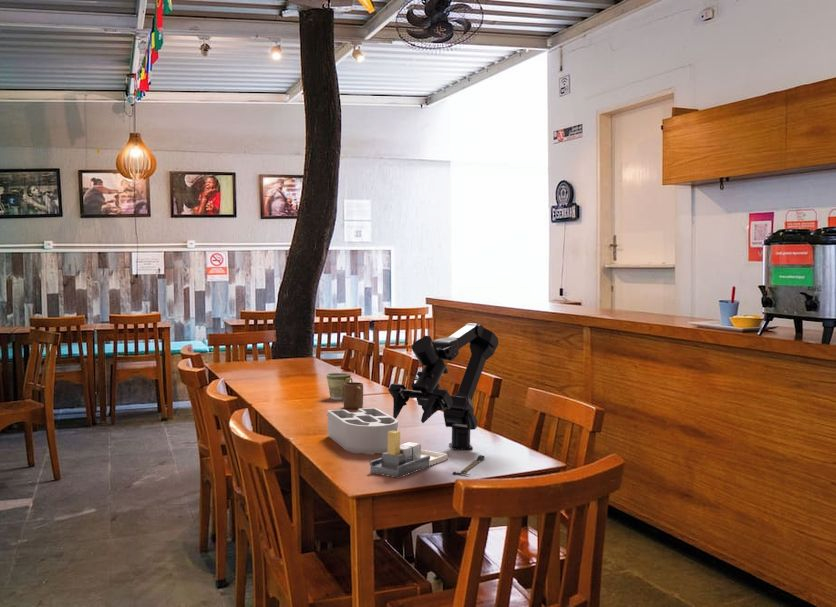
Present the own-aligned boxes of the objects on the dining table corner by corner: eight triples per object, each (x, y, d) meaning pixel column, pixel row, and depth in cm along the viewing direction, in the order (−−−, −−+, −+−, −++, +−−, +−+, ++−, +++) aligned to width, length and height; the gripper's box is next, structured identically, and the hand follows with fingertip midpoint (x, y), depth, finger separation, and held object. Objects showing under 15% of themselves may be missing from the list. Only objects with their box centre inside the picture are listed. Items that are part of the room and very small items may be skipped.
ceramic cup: (321, 398, 326) (321, 374, 325) (338, 395, 333) (339, 372, 333) (343, 402, 317) (343, 377, 317) (360, 399, 325) (360, 375, 324)
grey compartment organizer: (375, 433, 261) (375, 407, 260) (405, 453, 235) (405, 424, 234) (326, 437, 255) (326, 410, 254) (351, 457, 229) (352, 427, 228)
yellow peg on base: (388, 462, 215) (388, 429, 214) (405, 465, 212) (405, 432, 211) (381, 464, 212) (382, 431, 212) (398, 467, 209) (399, 434, 209)
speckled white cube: (408, 456, 222) (409, 442, 221) (420, 458, 219) (421, 444, 219) (400, 459, 218) (401, 444, 218) (412, 461, 216) (413, 446, 216)
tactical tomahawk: (474, 481, 208) (475, 477, 208) (451, 476, 211) (452, 472, 210) (499, 462, 227) (500, 458, 227) (478, 457, 230) (478, 454, 230)
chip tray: (421, 454, 232) (421, 449, 232) (447, 459, 227) (447, 454, 227) (402, 461, 224) (402, 456, 223) (429, 466, 219) (429, 461, 219)
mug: (369, 410, 300) (369, 386, 299) (350, 411, 297) (350, 387, 296) (359, 405, 311) (359, 381, 310) (340, 406, 308) (341, 382, 308)
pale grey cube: (399, 459, 218) (400, 445, 218) (411, 461, 216) (412, 447, 216) (391, 462, 215) (391, 447, 214) (403, 464, 212) (403, 449, 212)
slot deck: (401, 461, 224) (401, 450, 223) (429, 466, 218) (430, 455, 218) (369, 472, 211) (369, 461, 211) (399, 478, 206) (399, 467, 206)
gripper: (468, 396, 225) (447, 441, 217) (413, 390, 236) (391, 432, 227) (454, 372, 218) (432, 417, 210) (399, 366, 229) (376, 409, 220)
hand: (408, 420), depth 217 cm, fingers open, 9 cm apart
